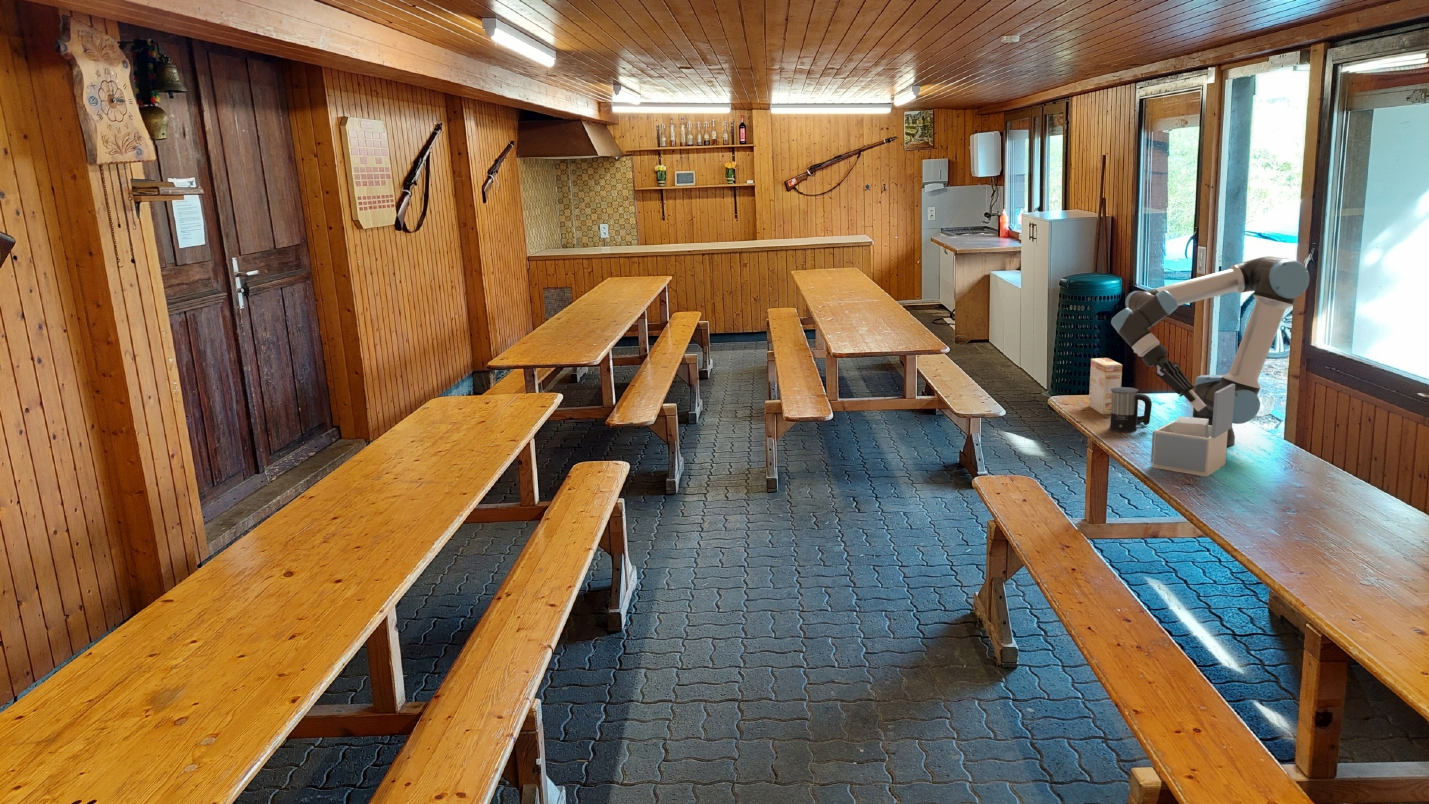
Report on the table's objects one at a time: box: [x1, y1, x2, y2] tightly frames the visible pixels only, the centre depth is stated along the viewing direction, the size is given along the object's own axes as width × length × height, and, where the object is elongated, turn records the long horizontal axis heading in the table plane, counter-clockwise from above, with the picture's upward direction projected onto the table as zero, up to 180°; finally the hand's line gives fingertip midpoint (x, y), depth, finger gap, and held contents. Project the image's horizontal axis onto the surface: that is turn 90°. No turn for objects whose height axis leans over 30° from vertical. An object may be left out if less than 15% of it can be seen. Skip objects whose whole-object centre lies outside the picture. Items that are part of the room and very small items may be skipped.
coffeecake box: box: [1088, 357, 1123, 415], centre depth 384 cm, size 15×7×20 cm, turn 179°
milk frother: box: [1109, 386, 1153, 433], centre depth 358 cm, size 14×16×15 cm
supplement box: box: [1175, 416, 1209, 438], centre depth 310 cm, size 9×9×15 cm
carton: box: [1150, 420, 1228, 477], centre depth 311 cm, size 17×18×12 cm
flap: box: [1211, 384, 1235, 438], centre depth 301 cm, size 1×15×14 cm, turn 135°
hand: (1202, 408), depth 305 cm, fingers closed
